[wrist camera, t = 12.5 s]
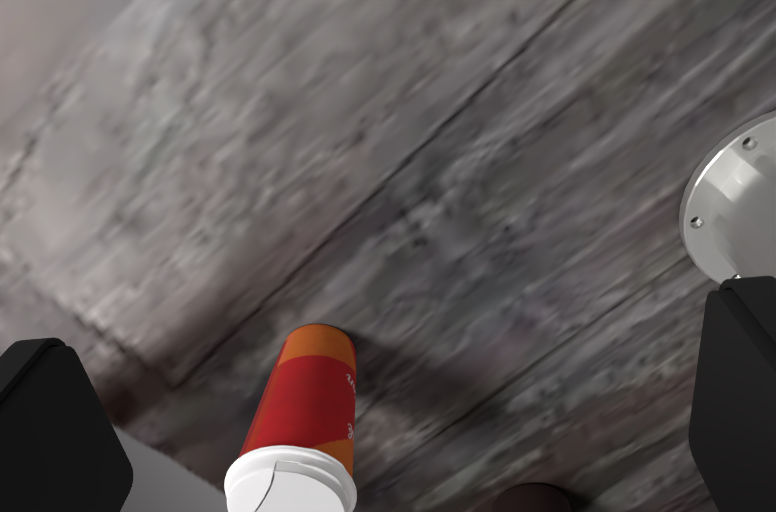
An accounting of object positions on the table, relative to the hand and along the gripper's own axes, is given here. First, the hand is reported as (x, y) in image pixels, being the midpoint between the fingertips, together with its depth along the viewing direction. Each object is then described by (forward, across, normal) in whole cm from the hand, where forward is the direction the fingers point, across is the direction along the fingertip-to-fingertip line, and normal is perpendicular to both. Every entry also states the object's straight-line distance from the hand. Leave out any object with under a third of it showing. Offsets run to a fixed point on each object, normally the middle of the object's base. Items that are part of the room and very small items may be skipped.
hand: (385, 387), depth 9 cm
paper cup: (+30, +10, +22) cm, 38 cm away
